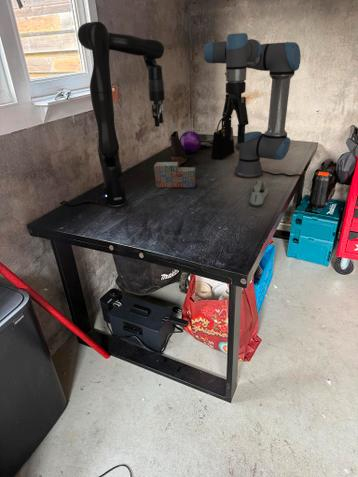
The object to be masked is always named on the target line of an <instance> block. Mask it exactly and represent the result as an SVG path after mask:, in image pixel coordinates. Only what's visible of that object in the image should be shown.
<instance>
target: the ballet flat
mask: <svg viewBox="0 0 358 477" xmlns="http://www.w3.org/2000/svg"><path fill="white" fill-rule="evenodd" d="M268 194H269V189H268V186H267V183H266V182H265V181H264V180H262V179H257V180H255V181H254V182H253V184H252V187H251V190H250V196H249V204H250V205H251V206H252V207H260V206H261V205H263V203H264V201H265V198H266V196H267V195H268Z"/></svg>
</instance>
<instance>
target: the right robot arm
mask: <svg viewBox="0 0 358 477" xmlns="http://www.w3.org/2000/svg"><path fill="white" fill-rule="evenodd" d="M203 58H204V61H205V62H206V63H207V64H225V72H224V75H225V81H226V83H225V100H224V103H223V104H224V105H223V108H222V109H223V110H222V115H221V117H224V119H225V126H224V136H230V135H231V127H232V119H233V117H232V115H233V112H234V111H235V114H236V119H237V122H238V124H237V140H236V143H239V150H238V162H237V165H236V166H234V169H235V170H234V174H235V176H236V177H239V178H243V179H255V178H259V177H261V176H262V175H263V174H268V175H272V176H280V175H281V176H286V177H301V178H305V177H304V175H302V174H300V173H295V174H287V173H285V172H278V173H274V172H270V171H265V170H263V169H262V165H261V159H267V160H268V159H269V160H274V161H275V160H276V161H282V160H284V159H285V157H286V156H287V154H288V152H289V150H290V146H291V138H290V137H288V132H287V131H286V121H287V113H288V106H289V96H290V87H291V79H292V78H293V77H294V76H295V73H296V71H298V70H299V69H300V65H301V49H300V46H299V44H298V43H297V42H293V41H284V42H271V43H269V42H268V43H262V44H261V42H260V41H259V40H257V39H254V38H249V35H248V34H247V33H246V32H241V33H240V32H238V33H229V34H227V36H226V41H211V42H207V43H206V44H205V45H204V48H203ZM247 69H252V70H257V71H260V72H261V71H263V72H269V73H268V76H269V77H270V78H271V87H270V98H269V110H268V119H267V120H268V122H267V130H265V131H264V133H263V134H264V136H263V135H262V132H261V131H259V130H258V131H249V132H246V126H247V125H249V117H248V111H247V98H246V97H245V96H242V95H243V94H244V93H246V91H247V90H246V87H247V83H246V81H247Z"/></svg>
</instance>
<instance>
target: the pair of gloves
mask: <svg viewBox="0 0 358 477" xmlns="http://www.w3.org/2000/svg"><path fill="white" fill-rule="evenodd" d="M213 136H214V134H212V135H210V134H206V135H205V139H204V140H203V139H201V145H200V148H199V149H202V148H206V147H209V148H211V149H212V145H213Z"/></svg>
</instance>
